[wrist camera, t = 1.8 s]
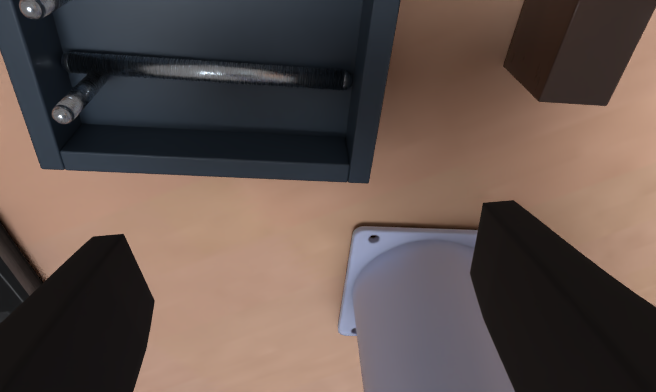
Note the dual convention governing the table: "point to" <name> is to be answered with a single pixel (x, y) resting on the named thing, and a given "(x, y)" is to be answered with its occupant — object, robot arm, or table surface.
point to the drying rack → (202, 84)
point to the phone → (14, 276)
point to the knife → (576, 47)
